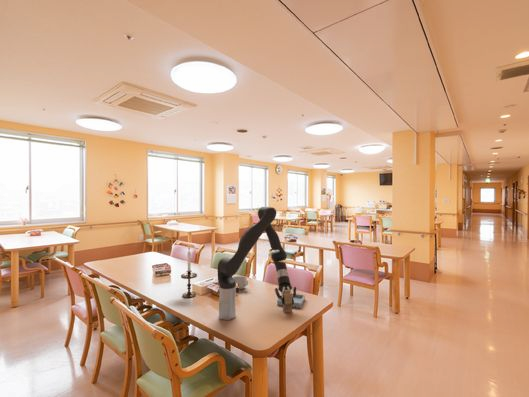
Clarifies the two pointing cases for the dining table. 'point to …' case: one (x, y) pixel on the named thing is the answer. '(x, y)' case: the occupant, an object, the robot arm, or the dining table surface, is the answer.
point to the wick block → (287, 301)
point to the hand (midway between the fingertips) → (288, 304)
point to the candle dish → (295, 301)
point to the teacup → (241, 281)
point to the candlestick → (189, 276)
